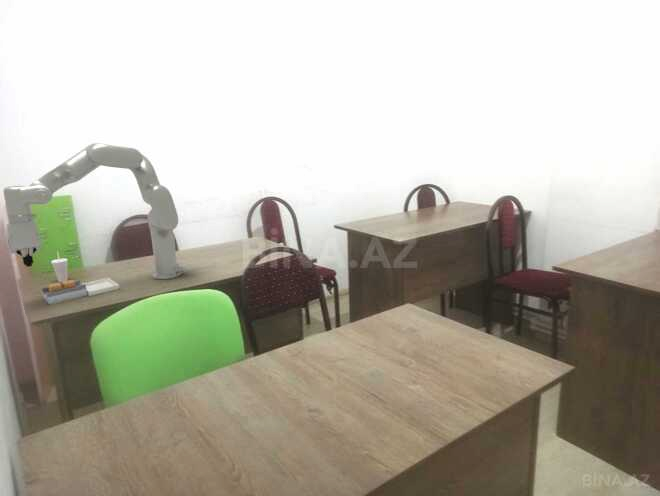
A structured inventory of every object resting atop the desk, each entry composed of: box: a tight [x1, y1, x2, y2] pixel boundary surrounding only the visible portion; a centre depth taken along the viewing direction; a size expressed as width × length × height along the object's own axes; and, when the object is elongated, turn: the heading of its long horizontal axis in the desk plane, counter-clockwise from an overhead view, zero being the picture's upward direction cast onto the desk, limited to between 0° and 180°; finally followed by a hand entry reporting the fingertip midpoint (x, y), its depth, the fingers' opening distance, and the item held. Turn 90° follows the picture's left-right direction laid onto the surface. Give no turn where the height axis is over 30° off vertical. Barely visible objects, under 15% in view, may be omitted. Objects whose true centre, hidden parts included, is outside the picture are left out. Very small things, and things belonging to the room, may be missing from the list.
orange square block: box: [61, 279, 76, 289], centre depth 196 cm, size 4×4×3 cm
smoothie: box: [50, 250, 69, 283], centre depth 215 cm, size 6×6×14 cm
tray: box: [81, 277, 121, 297], centre depth 204 cm, size 12×14×2 cm
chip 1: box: [47, 282, 62, 292], centre depth 192 cm, size 4×4×3 cm
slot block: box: [41, 279, 89, 305], centre depth 195 cm, size 14×10×4 cm
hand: (29, 265), depth 185 cm, fingers closed
